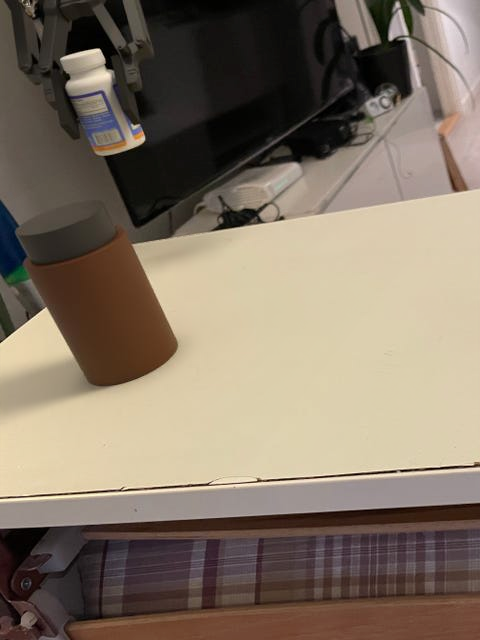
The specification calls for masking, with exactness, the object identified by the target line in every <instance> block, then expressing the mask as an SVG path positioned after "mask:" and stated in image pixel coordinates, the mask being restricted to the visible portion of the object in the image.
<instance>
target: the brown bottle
mask: <svg viewBox="0 0 480 640" xmlns="http://www.w3.org/2000/svg"><path fill="white" fill-rule="evenodd" d="M14 233H15V236H16V238H17V239H18V241H19V243H20V245H21V247H22V249H23V251H24V253H25V254H26V258H25V259H24V260H23V262H22V266H23V268H24V270H25V271H26V273H27V275H28V276H29V278H30V280H31V282H32V284H33V286H34V288H35V289H36V291H37V293H38V294H39V296H40V298H41V300H42V302H43V304H44V306H45V307H46V309H47V311H48V313H49V314H50V317H51V318H52V320H53V322H54V323H55V325H56V327H57V329H58V331H59V332H60V334H61V336H62V338H63V340H64V341H65V343H66V345H67V347H68V349H69V350H70V353H71V354H72V355H73V357H74V359H75V361H76V363H77V365H78V366H79V368H80V370H81V372H82V374H83V376H84V377H85V379H86V380H87V382H88V383H90V384H92V385H96V386H101V387H102V386H104V387H105V386H114V385H119V384H123V383H126V382H130V381H132V380H135V379H136V380H137V379H138V378H140V377H143V376H145V375H147V374H149V373H151V372H153V371H155V370H156V369H158V368H160V367H161V366H162V365H164V364H166V362H167V361H168V360H170V359H171V358H172V357H173V356H174V355H175V353H176V351H177V350H178V347H179V341H178V340H177V337H176V335H175V333H174V331H173V329H172V326H171V324H170V323H169V320H168V318H167V315H166V314H165V312H164V310H163V307H162V305H161V303H160V301H159V299H158V297H157V295H156V293H155V290H154V288H153V286H152V284H151V282H150V280H149V278H148V275H147V274H146V271H145V269H144V267H143V264H142V263H141V261H140V259H139V256H138V255H137V252H136V249H135V248H134V245H133V244H132V241H131V239H130V237H129V235H128V233H127V231H126V229H125V227H123V226H121V225H115V224H114V221H113V219H112V218H111V215H110V213H109V211H108V209H107V207H106V204H105V202H103V201H102V200H98V199H95V200H94V199H91V200H84V201H78V202H73V203H70V204H66V205H62V206H59V207H56V208H53V209H49V210H47V211H44V212H42V213H40V214H38V215H35V216H34V217H32V218H30V219H28V220H26V221H24V222H23V223H21V224H20V225H19V226H18V227H16V229H15V230H14Z"/></svg>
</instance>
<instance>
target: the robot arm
mask: <svg viewBox="0 0 480 640" xmlns="http://www.w3.org/2000/svg"><path fill="white" fill-rule="evenodd" d="M3 1H4V3H5V5H6V6H7V8H8V10H9V11H10V16H11V23H12V30H13V36H14V44H15V45H14V46H15V51H16V58H17V66H18V70H19V71H20V72H21V74H23V75H24V76H25V78H26V79H27V80H28V81H29V82H30V83H31V84H32V85H33V86H40V85H42V89H43V94H44V99H45V101H46V102H47V103H48V104H49V106H50V107H51V108H52V109H53V111H57V116H58V121H59V125H60V128H61V129H62V130H63V131H64V132H65V133H66V134H67V135H68V136H69V137H70V138H71V139H72V141H76V140H80V139H81V138H82V137H81V132H80V127H79V123H78V118H77V117H78V116H77V113H76V111H75V109H74V107H73V105H72V103H71V100H70V98H69V96H68V94H67V91H66V88H65V86H66V83H67V82H68V80H67V78H65V77H64V75H63V73H64V69H63V66H62V64H61V61H60V59H61V58H62V57H65V56H66V51H67V43H68V35H69V32H71V31H72V27H73V26H72V25H73V21H75V20H77V19H80V18H82V17H93V16H95V17H96V18H97V20H98V21H99V24H100V25H101V27H102V28H103V30H104V32H105V33H106V35H107V37H108V38H109V40H110V41H111V43H112V45H113V46H114V48H115V50H116V51H117V53H118V54H114V55H111V56H110V61H111V64H112V68H113V69H112V70H113V71H114V74H115V78H116V83H117V87H118V92H119V96H120V101H121V106H122V110H123V112H124V113H125V115H126V116H127V117H128V119H129V120H130V121H131V123H132V124H133V126H134V125H138V124H140V125H141V123H142V122H141V118H140V115H139V109H138V106H137V101H136V96H135V92H140V91H142V90H143V82H142V78H141V73H140V68H139V63H140V62H141V61H142V60H144V59H145V60H150V59H153V58H154V56H155V51H154V47H153V43H152V41H151V37H150V33H149V30H148V25H147V22H146V18H145V15H144V11H143V8H142V5H141V1H140V0H122V4H123V7H124V11H125V15H126V18H127V22H128V26H129V30H130V34H131V36H132V40H133V41H131V42H130V43H128V42H127V41H126V39H125V37H124V36H123V35H122V33H121V31H120V29H119V28H118V26H117V25H116V23H115V22H114V19H113V18H112V16H111V15H110V13H109V11H108V10H107V8H106V7H105V6H104V5H105V3H106V1H107V0H3ZM36 4H39V5H41V6H42V7H43V8H42V11H43V14H44V20H43V27H42V34H41V40H40V46H39V43H38V37H37V36H38V35H37V30H36V24H35V23H34V18H35V17H36V14H35V5H36ZM39 47H40V49H39Z"/></svg>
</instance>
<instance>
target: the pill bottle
mask: <svg viewBox="0 0 480 640" xmlns="http://www.w3.org/2000/svg"><path fill="white" fill-rule="evenodd" d="M60 61H61V64H62V66H63V72H65V73H66V74H68V75H69V77H70V78H69V80H67V83H66V86H65V88H66V91H67V94H68V96H69V98H70V100H71V103H72V105H73V107H74V109H75V112H76V116H77V117H78V118H77V119H79V122H80V124H81V127H82V128H83V130H84V133H85V135H86V137H87V139H88V142H89V144H90V146H91V148H92V150H93V152H94V153H95V154H96V155H98V156H104V157H105V156H111V155H115V154H120V153H123V152H126V151H128V150H131V149H135V148H137V147H139V146H141V145H143V144H144V142H145V141H146V136H145V133H144V131H143V128H142V125H141V124H138V125H134V126H133V124H132V123H131V121H130V120H129V119H128V117H127V116H126V115H125V113H124V112H123V110H122V106H121V101H120V96H119V92H118V87H117V83H116V78H115V74H114V69H108V68H107V67H106V65H105V64H106V58H105V56H104V54H103V52H102V50H101V49H100V48H92V49H88V50H83V51H78V52H75V53H71V54H68V55H65V57H62V58H61V59H60Z"/></svg>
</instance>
